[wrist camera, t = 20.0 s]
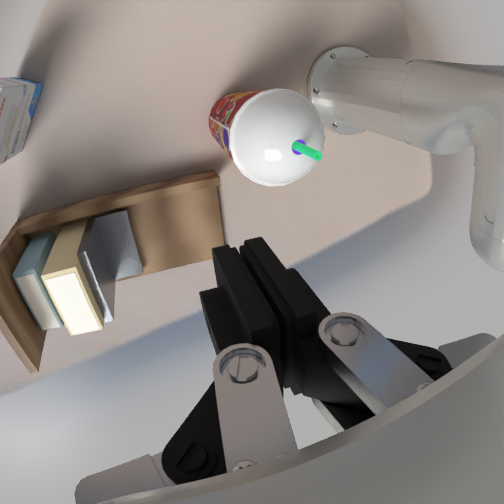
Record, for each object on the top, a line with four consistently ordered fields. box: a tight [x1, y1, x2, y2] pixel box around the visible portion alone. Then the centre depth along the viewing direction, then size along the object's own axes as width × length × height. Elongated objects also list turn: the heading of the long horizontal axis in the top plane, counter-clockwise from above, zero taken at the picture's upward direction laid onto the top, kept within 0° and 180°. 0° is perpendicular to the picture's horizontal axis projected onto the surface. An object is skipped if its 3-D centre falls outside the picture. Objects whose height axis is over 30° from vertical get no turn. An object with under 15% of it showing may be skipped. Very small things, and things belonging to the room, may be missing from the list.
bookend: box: [77, 208, 144, 322], centre depth 34 cm, size 5×9×9 cm, turn 5°
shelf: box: [0, 171, 224, 373], centre depth 33 cm, size 27×12×15 cm, turn 95°
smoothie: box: [209, 88, 325, 187], centre depth 28 cm, size 8×8×20 cm
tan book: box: [41, 221, 104, 336], centre depth 33 cm, size 4×8×11 cm, turn 5°
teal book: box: [13, 231, 64, 331], centre depth 32 cm, size 3×8×9 cm, turn 5°
